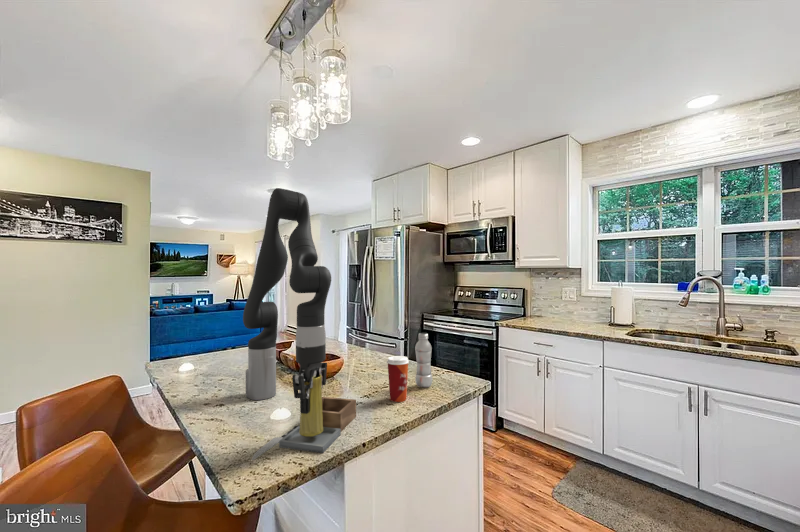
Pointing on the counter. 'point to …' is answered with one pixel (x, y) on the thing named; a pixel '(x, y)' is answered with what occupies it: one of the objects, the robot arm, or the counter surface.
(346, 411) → the brown wooden box
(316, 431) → the vase
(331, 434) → the tray
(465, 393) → the counter surface
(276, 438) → the chef's knife
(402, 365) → the paper cup
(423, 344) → the plastic bottle
